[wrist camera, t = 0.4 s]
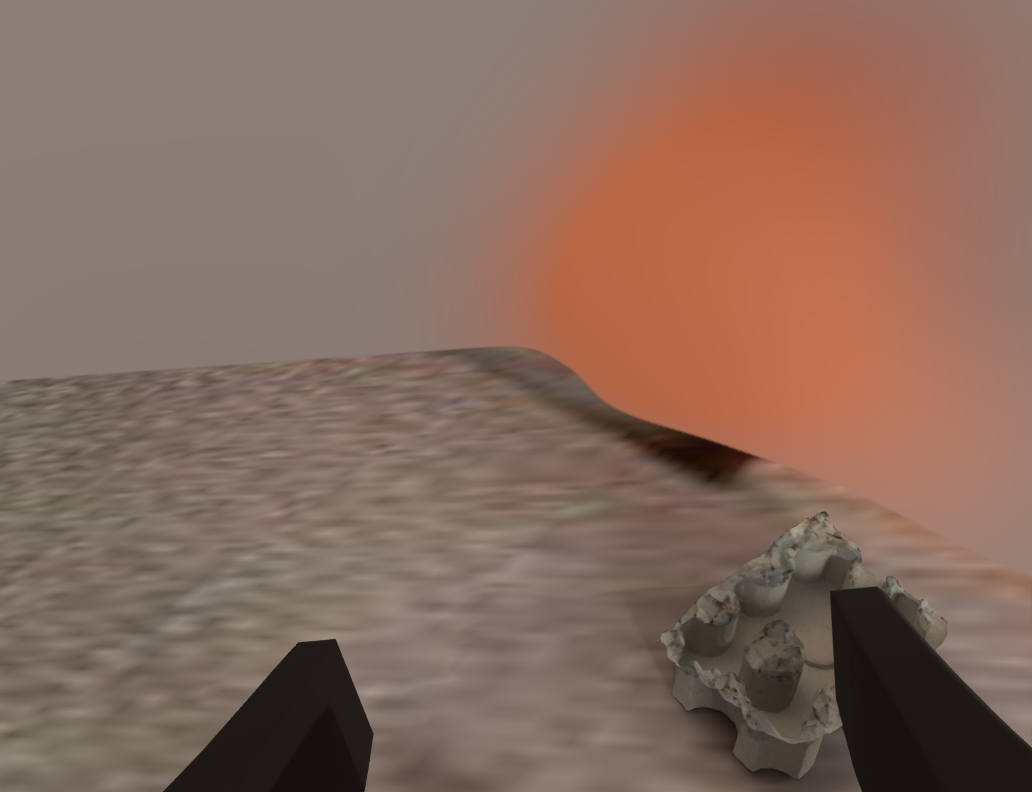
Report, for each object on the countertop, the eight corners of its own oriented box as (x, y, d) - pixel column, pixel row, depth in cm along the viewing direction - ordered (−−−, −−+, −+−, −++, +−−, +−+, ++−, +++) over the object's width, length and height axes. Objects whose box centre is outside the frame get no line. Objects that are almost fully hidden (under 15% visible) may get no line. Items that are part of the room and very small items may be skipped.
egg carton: (809, 562, 41) (827, 500, 39) (948, 673, 36) (978, 610, 34) (638, 666, 36) (646, 603, 34) (770, 810, 31) (790, 749, 29)
